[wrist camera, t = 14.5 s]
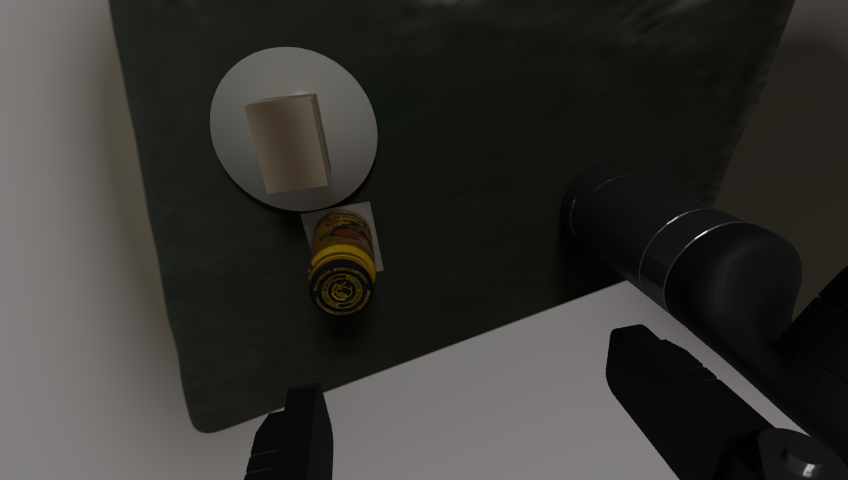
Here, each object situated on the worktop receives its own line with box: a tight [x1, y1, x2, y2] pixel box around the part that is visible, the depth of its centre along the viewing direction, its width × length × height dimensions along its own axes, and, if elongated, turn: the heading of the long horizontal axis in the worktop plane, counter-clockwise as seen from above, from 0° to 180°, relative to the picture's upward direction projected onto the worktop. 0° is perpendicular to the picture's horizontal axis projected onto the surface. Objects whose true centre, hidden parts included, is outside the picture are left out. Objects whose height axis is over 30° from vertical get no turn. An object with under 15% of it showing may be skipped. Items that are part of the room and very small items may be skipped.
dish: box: [210, 47, 377, 211], centre depth 39 cm, size 15×15×1 cm
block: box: [244, 93, 331, 194], centre depth 35 cm, size 5×7×6 cm
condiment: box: [300, 202, 383, 317], centre depth 39 cm, size 7×8×12 cm
